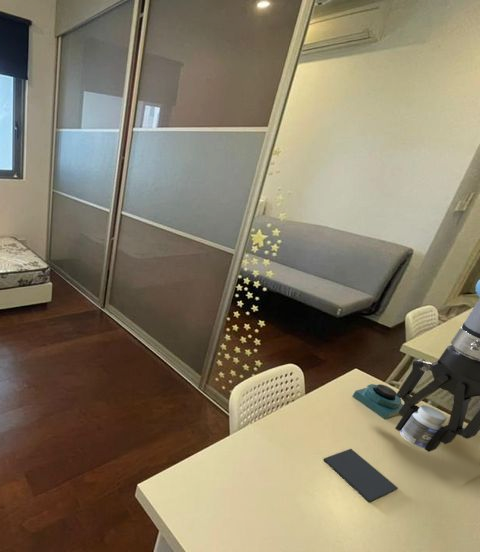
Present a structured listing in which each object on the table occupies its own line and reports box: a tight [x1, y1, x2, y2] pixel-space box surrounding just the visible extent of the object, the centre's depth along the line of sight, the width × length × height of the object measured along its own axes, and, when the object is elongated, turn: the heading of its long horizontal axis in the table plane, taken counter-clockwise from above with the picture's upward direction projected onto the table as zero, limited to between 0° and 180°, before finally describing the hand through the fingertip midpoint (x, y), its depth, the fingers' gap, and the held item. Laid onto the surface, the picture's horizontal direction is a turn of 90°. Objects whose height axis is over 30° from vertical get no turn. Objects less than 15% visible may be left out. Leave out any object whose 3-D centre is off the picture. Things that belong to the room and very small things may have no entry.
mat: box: [323, 448, 399, 503], centre depth 66 cm, size 9×9×1 cm
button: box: [374, 383, 398, 400], centre depth 84 cm, size 4×4×2 cm
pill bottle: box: [399, 404, 447, 449], centre depth 70 cm, size 5×5×8 cm
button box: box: [352, 383, 404, 420], centre depth 85 cm, size 8×8×4 cm
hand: (414, 438), depth 72 cm, fingers closed on pill bottle, 5 cm apart
